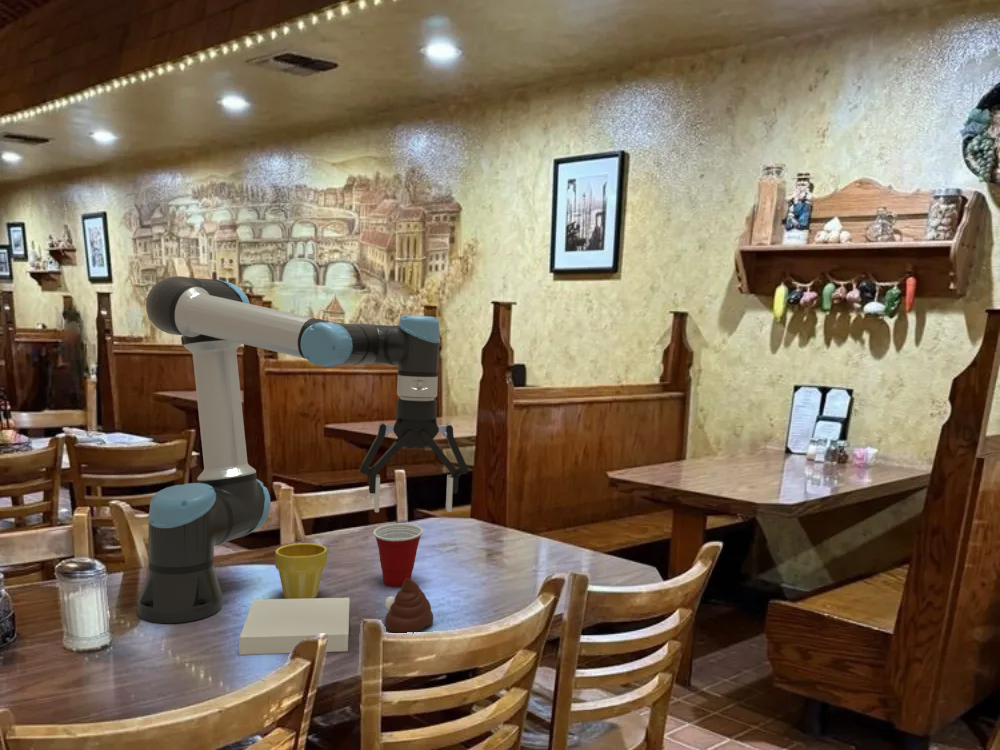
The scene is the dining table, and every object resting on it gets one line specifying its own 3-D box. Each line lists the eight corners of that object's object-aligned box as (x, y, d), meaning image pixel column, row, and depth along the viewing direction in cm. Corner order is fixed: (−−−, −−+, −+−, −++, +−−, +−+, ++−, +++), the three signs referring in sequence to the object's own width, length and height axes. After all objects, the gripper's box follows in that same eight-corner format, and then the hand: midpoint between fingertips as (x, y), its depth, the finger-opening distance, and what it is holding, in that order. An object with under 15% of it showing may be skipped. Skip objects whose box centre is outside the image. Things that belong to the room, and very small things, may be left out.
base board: (239, 654, 130) (239, 637, 130) (253, 614, 148) (253, 599, 147) (347, 651, 133) (348, 634, 133) (349, 612, 151) (349, 597, 151)
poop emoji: (410, 639, 139) (411, 589, 139) (373, 628, 144) (375, 579, 143) (442, 623, 148) (444, 575, 147) (407, 612, 152) (408, 566, 152)
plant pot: (272, 589, 162) (273, 543, 161) (322, 585, 165) (323, 541, 165) (276, 607, 152) (277, 558, 152) (329, 602, 156) (330, 555, 155)
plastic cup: (361, 584, 167) (362, 530, 166) (390, 572, 177) (392, 520, 176) (402, 594, 162) (404, 538, 161) (430, 581, 172) (432, 528, 171)
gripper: (349, 398, 138) (345, 515, 139) (486, 402, 143) (481, 514, 144) (349, 394, 145) (345, 505, 147) (479, 398, 150) (474, 505, 152)
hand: (412, 510), depth 145 cm, fingers open, 13 cm apart
